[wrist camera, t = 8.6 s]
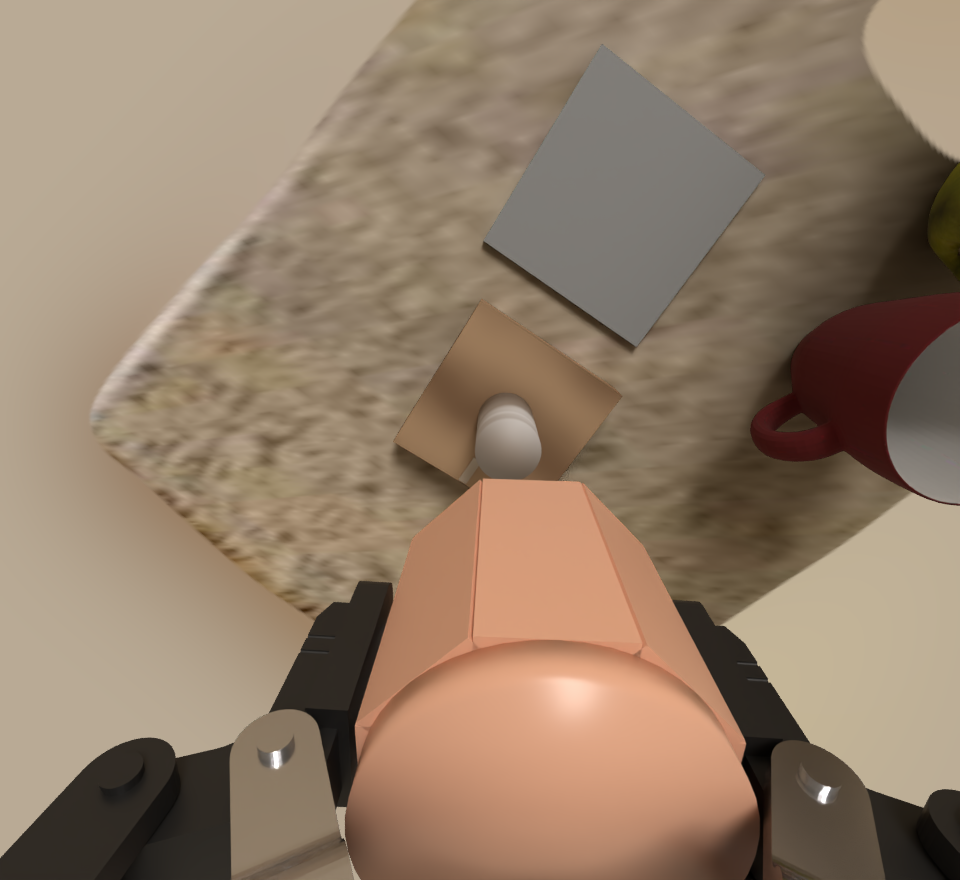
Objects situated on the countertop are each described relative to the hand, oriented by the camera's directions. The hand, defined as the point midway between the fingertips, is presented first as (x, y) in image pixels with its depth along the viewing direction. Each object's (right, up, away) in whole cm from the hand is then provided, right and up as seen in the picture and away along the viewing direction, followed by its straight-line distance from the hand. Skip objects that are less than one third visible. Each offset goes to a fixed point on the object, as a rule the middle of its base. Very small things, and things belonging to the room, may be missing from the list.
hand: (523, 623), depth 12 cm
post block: (0, +6, +18) cm, 19 cm away
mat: (+6, +16, +14) cm, 22 cm away
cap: (0, 0, +2) cm, 2 cm away
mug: (+17, +8, +17) cm, 25 cm away
